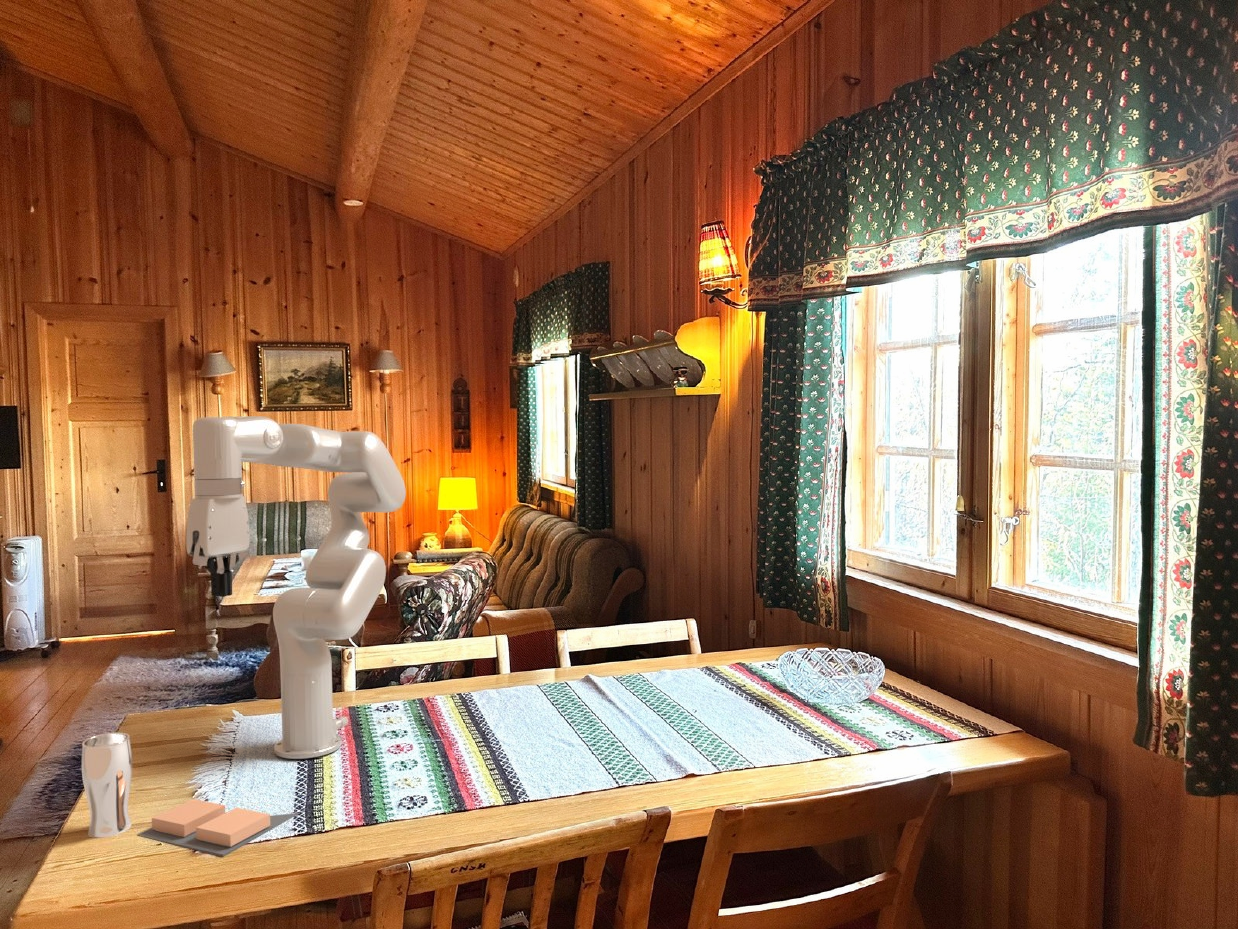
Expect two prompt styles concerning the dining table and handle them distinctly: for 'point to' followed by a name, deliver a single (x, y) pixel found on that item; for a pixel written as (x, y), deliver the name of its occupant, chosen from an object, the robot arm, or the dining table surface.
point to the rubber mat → (208, 847)
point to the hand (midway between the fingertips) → (221, 595)
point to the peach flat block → (233, 827)
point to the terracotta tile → (187, 817)
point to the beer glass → (107, 782)
